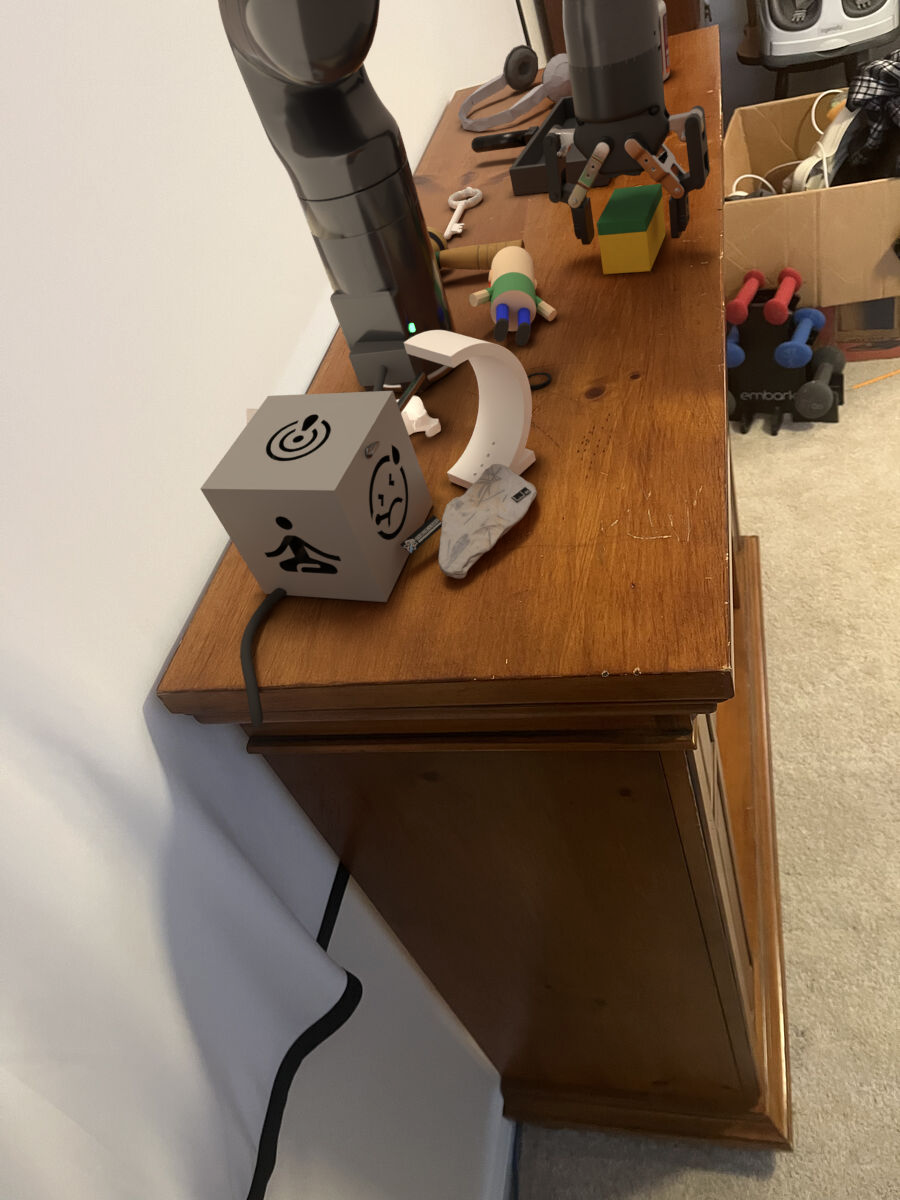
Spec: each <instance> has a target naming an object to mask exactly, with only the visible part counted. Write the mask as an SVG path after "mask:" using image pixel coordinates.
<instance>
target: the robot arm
mask: <svg viewBox="0 0 900 1200" xmlns="http://www.w3.org/2000/svg"><path fill="white" fill-rule="evenodd" d="M217 3H218V4H217V5H218V10H219V15H220V19H221V22H222V26H223V29H224V34H225V36H226V38H227V42H228V45H229V47H230V49H231V52H232V55H233V57H234V59H235V63H236V66H237V67H238V70H239V72H240V74H241V77H242V80H243V83H244V84H245V87H246V89H247V92H248V95H249V97H250V100H251V102H252V104H253V106H254V108H255V111H256V114H257V117H258V118H259V121H260V124H261V125H262V128H263V131H264V133H265V135H266V137H267V140H268V142H269V144H270V146H271V148H272V149H273V152H274V153H275V155H276V156H277V158H278V159H279V161H280V163H281V165H282V166H283V168H284V169H285V171H286V174H287V175H288V177H289V179H290V182H291V184H292V187H293V189H294V192H295V194H296V197H297V200H298V203H299V205H300V208H301V210H302V213H303V216H304V219H305V221H306V224H307V226H308V228H309V232H310V234H311V237H312V240H313V242H314V244H315V247H316V250H317V254H318V256H319V258H320V260H321V263H322V266H323V268H324V271H325V274H326V277H327V279H328V281H329V284H330V286H331V290H332V294H331V295H330V298H329V301H330V303H331V306H332V308H333V311H334V313H335V316H336V319H337V321H338V324H339V326H340V329H341V333H342V334H343V337H344V340H345V342H346V344H347V347H348V350H349V354H348V359H349V361H350V363H351V367H352V369H353V371H354V374H355V376H356V379H357V382H358V384H359V387H360V388H364V392H375V391H393V393H404V392H405V391H406V389H407V388H408V387H409V385H410V384H411V382H412V381H413V380H414V378H415V377H416V375H417V374H418V373H419V372H420V371H422V372H424V373H425V374H426V377H425V379H424V380H423V382H422V383H421V385H420V386H419V388H418V389H417V391H416V392H415V393H424V392H425V391H426V390H427V389H428V387H429V386H430V385H431V384H433V383H435V382H436V381H438V380H440V379H441V378H443V377H445V376H446V375H447V374H449V373H450V372H451V371H452V370H453V369H454V368H453V367H449V366H446V365H443V364H440V363H436V362H433V361H430V360H427V359H423V358H420V357H417V356H413V355H410V354H407V352H406V349H405V346H404V342H405V341H407V340H408V339H410V338H412V337H413V336H415V335H417V334H420V333H423V332H426V331H431V330H445V331H449V332H453V333H457V334H458V332H457V329H456V325H455V321H454V317H453V314H452V310H451V307H450V304H449V299H448V297H447V293H446V290H445V286H444V283H443V278H442V276H441V272H440V271H439V268H438V265H437V261H436V258H435V254H434V250H433V247H432V243H431V240H430V236H429V233H428V229H427V227H428V226H427V223H426V222H427V221H426V218H425V216H424V212H423V209H422V205H421V201H420V198H419V193H418V189H417V186H416V182H415V180H414V175H413V172H412V168H411V165H410V162H409V158H408V154H407V150H406V147H405V142H404V140H403V136H402V132H401V130H400V126H399V124H398V123H397V120H396V119H395V117H394V116H393V114H392V113H391V111H390V110H389V109H388V108H387V106H386V105H385V104H384V102H382V100H381V98H380V97H379V95H378V93H377V91H376V89H375V87H374V86H373V84H372V81H371V79H370V77H369V75H368V71H367V69H366V67H365V64H364V63H365V61H366V59H367V56H368V55H369V52H370V50H371V48H372V47H373V43H374V40H375V36H376V31H377V27H378V23H379V15H380V4H381V0H217ZM562 28H563V36H564V37H563V38H564V44H565V50H566V52H565V53H566V54H567V59H568V66H569V74H570V81H571V89H572V95H571V96H573V104H574V111H575V117H576V128H575V129H563V128H562V127H561V126H560V125H554V126H553V127H552V128H551V130H550V131H549V132H548V134H547V135H546V137H545V138H544V140H543V147H544V157H545V166H546V175H547V184H548V192H547V193H548V194H547V195H548V199H549V201H550V202H551V203H553V204H558V203H563V204H566V205H568V206H569V208H570V213H571V218H572V224H573V225H572V226H573V232H574V235H575V238H576V239H577V240H581V245H582V246H588V245H591V244H592V242H593V240H594V238H595V233H596V231H595V225H594V224H595V223H594V217H593V216H594V215H593V210H592V201H591V197H588V195H587V194H588V192H589V191H590V189H591V188H592V187H591V185H592V183H593V182H594V180H595V178H596V176H597V174H598V173H600V174H601V175H603V176H606V179H608V178H611V179H615V178H617V177H620V176H623V175H624V176H629V177H637V176H641V175H642V173H643V172H646V173H647V174H648V175H649V176H650V178H651V179H652V180H653V181H654V182H655V183H656V184H661V185H662V188H664V189H665V191H667V193H668V194H669V195H670V197H669V199H668V212H669V226H670V228H669V229H670V238H671V239H672V240H674V239H681V236H682V235H683V232H686V229H687V227H688V225H689V223H690V218H691V215H690V214H691V213H690V197H689V193H690V192H692V191H695V190H697V191H698V190H701V189H703V188H704V186H705V185H706V182H707V178H708V177H709V175H710V173H711V166H710V155H709V143H708V134H707V123H706V113H705V108H704V107H703V106H701V105H694V106H693V107H692V108H691V109H690V111H686V112H681V113H677V114H670V112H669V111H668V109H667V106H666V101H665V86H664V81H663V69H662V53H661V38H660V32H661V19H660V16H659V8H658V0H562ZM670 132H674V133H675V134H676V135H677V139H678V140H679V142H681V143H684V144H685V143H686V145H685V146H686V151H687V152H686V154H687V164H688V170H689V171H687V172H686V171H685V170H684V169H683V167H682V166H681V165H680V164H679V163H678V162H677V160H676V157H675V155H674V153H673V152H672V151H671V150H670V149H669V148H668V146H666V144H665V141H666V139H667V137H668V136H669V133H670ZM573 143H574V145H575V146H576V148H577V149H578V150H579V151H580V152H581V154H582V155H583V156H584V157H585V158H586V159H587V160H588V163H587V165H586V167H585V169H584V171H583V173H582V175H581V176H580V178H579V180H578V182H577V184H576V185H574V184H570V183H568V175H567V164H566V155H567V154H568V152H569V151H570V149H571V144H573ZM286 594H287V592H286V590H284V589H282V588H277V589H275V590H274V591H273V592H272V593H271V594H268V596H266V597H265V598H264V599H263V600H262V601H261V603H260V604H259V606H258V607H257V608H256V610H255V611H253V614H252V616H251V617H250V619H249V620H248V623H247V624H246V627H245V629H244V631H243V633H242V638H241V641H240V649H239V657H240V665H241V666H240V667H241V671H242V676H243V682H244V687H245V691H246V696H247V703H248V709H249V716H250V722H251V726H252V728H258V727H261V725H262V724H263V723H264V715H263V708H262V701H261V695H260V690H259V685H258V680H257V675H256V670H255V665H254V660H253V654H252V653H253V651H252V650H253V643H254V639H255V637H256V633H257V631H258V629H259V627H260V625H261V623H262V622H263V620H264V619H265V617H266V616H267V614H268V613H270V610H271V609H272V608H273V607H274V606H275V605H276V604H277V603H278V602H279V601H280V600H281V599H283V598H284V596H287V595H286Z"/></svg>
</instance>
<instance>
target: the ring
mask: <svg viewBox="0 0 900 1200" xmlns="http://www.w3.org/2000/svg"><path fill="white" fill-rule="evenodd" d="M540 375H541V376H546V377H547V380H545V381H543V382H541V383H538V384H530V390H531V391H532V390H540V389H543V388H546V387H548V386H549V385H550V384H551V382H552V375H551V374H550V373H549V372H542V371H541V372H535V373H534V372H533V373H531V374H528V375H527V377H528V380H529V379H530V378H532V377H535V376H540Z"/></svg>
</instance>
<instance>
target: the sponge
mask: <svg viewBox="0 0 900 1200" xmlns="http://www.w3.org/2000/svg"><path fill="white" fill-rule="evenodd" d="M596 228H597V235H598V243H599V250H600V259H601V266H602V267H601V268H602V273H603V275H612V274H627V273H628V274H629V273H640V272H641V273H643V272H651V270H652V268H653V265H654V263H655V261H656V259H657V256H658V254H659V251H660V248H661V246H662V244H663V242H664V239H665V237H666V235H667V233H666V221H665V209H664V197H663V186H662V185H661V184H660V183H654V184H646V185H636V186H628V187H618V188H617V187H616V188H614V190H613V191H612V194H611V195H610V197H609V199H608V201H607V203H606V205H605V206H604V208H603V211H602V213H601V214H600V216H599V218H598V220H597V222H596Z"/></svg>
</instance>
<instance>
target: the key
mask: <svg viewBox="0 0 900 1200" xmlns="http://www.w3.org/2000/svg"><path fill="white" fill-rule="evenodd" d="M468 197H470V198H468ZM463 198H468V199H463ZM461 199H463V200H461ZM482 199H483V191H482V190H480V189H479V188H472V187H471V186H467V187H466V188H465V189H462V190H458V191H455V192H454V193H453V194H451V195H449V197H448V199H447V203H448V206H449V207H450V208H451V209H455V210H454V213H453V215H452V217H451V219H450V221H449V223H448V225H447V227H446V229H445V232H444V233H443V237H444V238H445V240H450V239H451V238H452V235H455V234H458V235H459V234H461V233H462V232H463V228H464V226H465V225H466V224H465V222H464V223H462V222H461V223H459V221H460V219H461V217H462V215H463V213H464V211H465V210H466V209H468V208H469V207H473V206H476V205H478V204H479V203H480V202H481V201H482Z"/></svg>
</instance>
